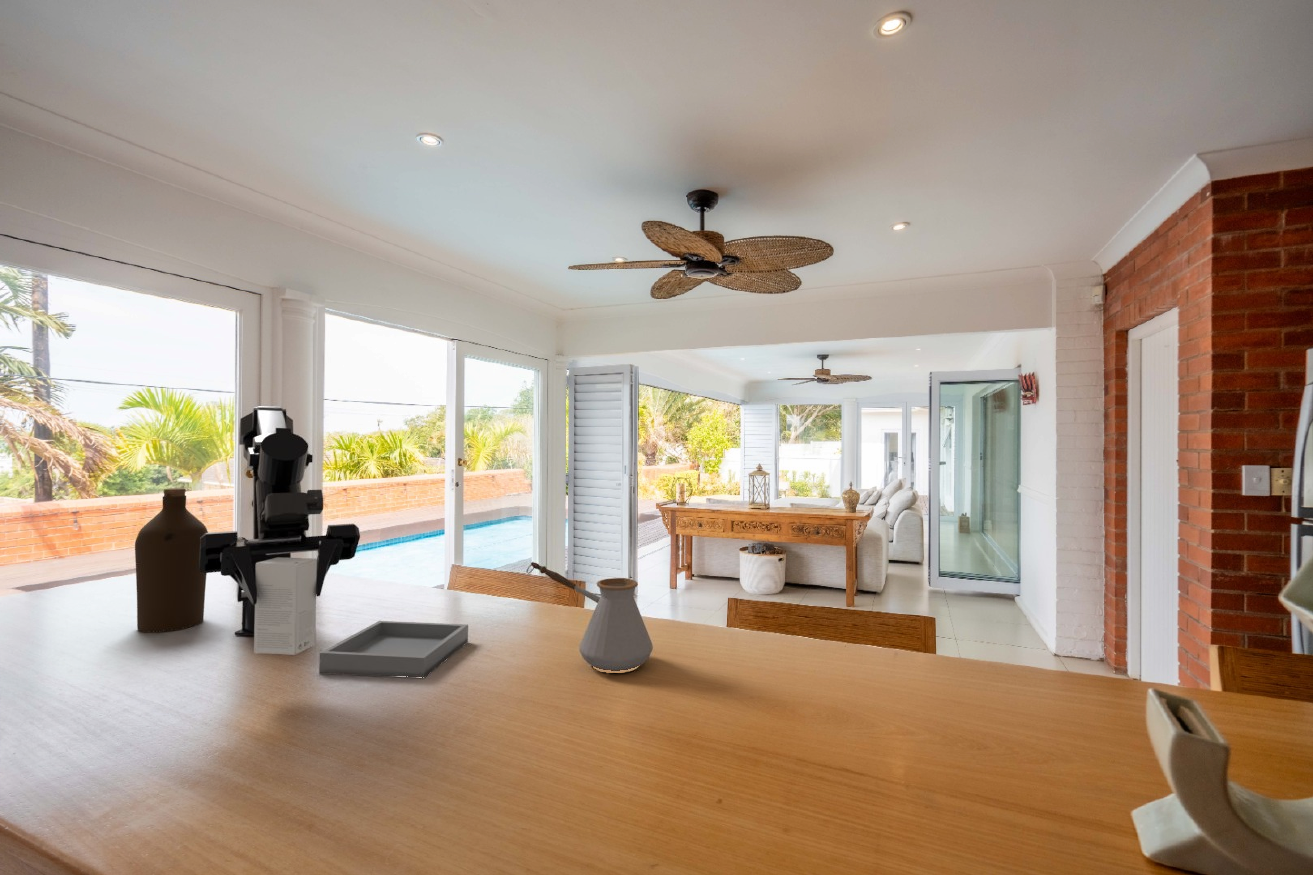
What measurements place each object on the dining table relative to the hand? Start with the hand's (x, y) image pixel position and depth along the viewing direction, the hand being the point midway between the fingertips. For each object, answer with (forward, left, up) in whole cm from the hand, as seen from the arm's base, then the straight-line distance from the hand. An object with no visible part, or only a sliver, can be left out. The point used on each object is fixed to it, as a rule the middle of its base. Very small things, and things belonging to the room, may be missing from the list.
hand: (287, 598), depth 79 cm
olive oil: (-42, +27, -13) cm, 52 cm away
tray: (+7, +17, -13) cm, 22 cm away
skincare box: (-1, +1, -7) cm, 7 cm away
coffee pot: (+37, +19, -13) cm, 43 cm away
